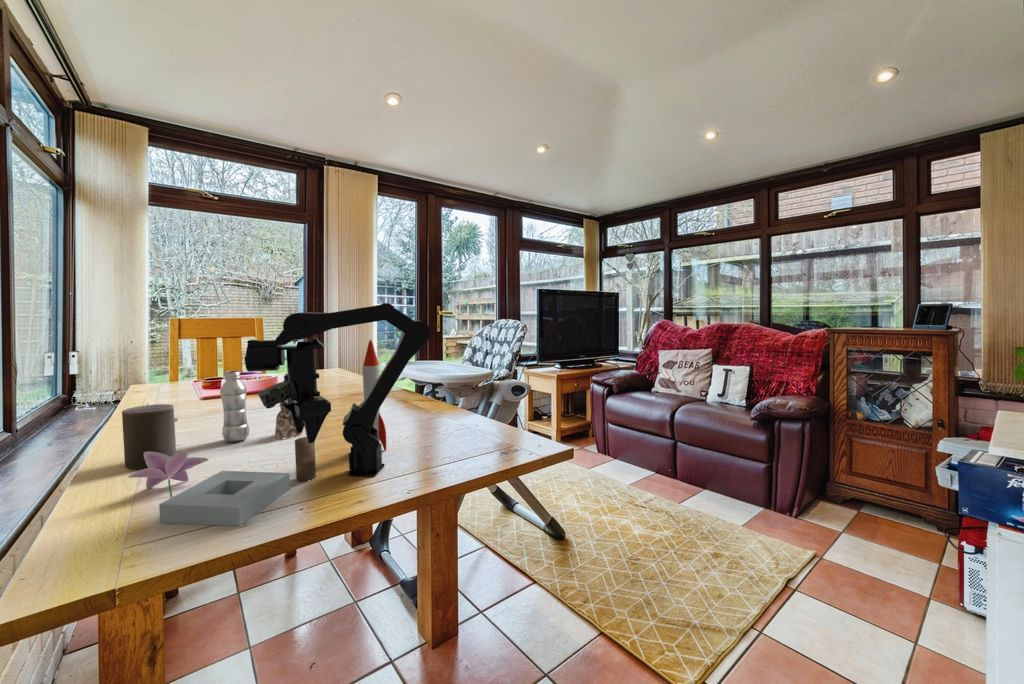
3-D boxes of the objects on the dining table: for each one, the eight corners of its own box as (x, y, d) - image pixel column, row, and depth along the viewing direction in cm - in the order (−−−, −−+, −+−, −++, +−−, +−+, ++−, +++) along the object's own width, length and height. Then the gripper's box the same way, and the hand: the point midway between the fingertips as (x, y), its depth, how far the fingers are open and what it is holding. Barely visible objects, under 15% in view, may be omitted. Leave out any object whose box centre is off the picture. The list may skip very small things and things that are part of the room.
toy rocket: (379, 445, 117) (377, 338, 114) (387, 450, 113) (384, 340, 110) (359, 449, 113) (356, 339, 111) (366, 454, 109) (363, 341, 106)
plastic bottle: (228, 446, 115) (223, 374, 113) (219, 441, 119) (214, 371, 117) (253, 440, 120) (250, 371, 118) (244, 435, 124) (240, 369, 122)
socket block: (289, 488, 89) (289, 473, 89) (239, 526, 74) (238, 507, 74) (223, 486, 90) (222, 470, 90) (160, 522, 75) (159, 504, 75)
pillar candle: (147, 471, 97) (143, 408, 96) (114, 467, 99) (110, 406, 98) (186, 457, 107) (184, 399, 106) (156, 454, 109) (152, 397, 108)
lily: (219, 484, 93) (210, 444, 95) (188, 486, 82) (178, 440, 84) (159, 507, 90) (151, 465, 93) (119, 512, 79) (110, 463, 81)
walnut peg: (319, 474, 96) (318, 437, 96) (310, 482, 92) (308, 442, 92) (302, 474, 97) (301, 436, 96) (292, 481, 93) (290, 442, 92)
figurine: (272, 439, 120) (270, 399, 119) (279, 432, 127) (277, 393, 126) (299, 437, 122) (297, 397, 121) (304, 430, 129) (303, 392, 128)
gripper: (251, 367, 94) (255, 435, 95) (270, 379, 80) (274, 458, 81) (304, 363, 101) (307, 425, 103) (330, 373, 87) (333, 445, 89)
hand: (305, 437), depth 94 cm, fingers open, 9 cm apart
